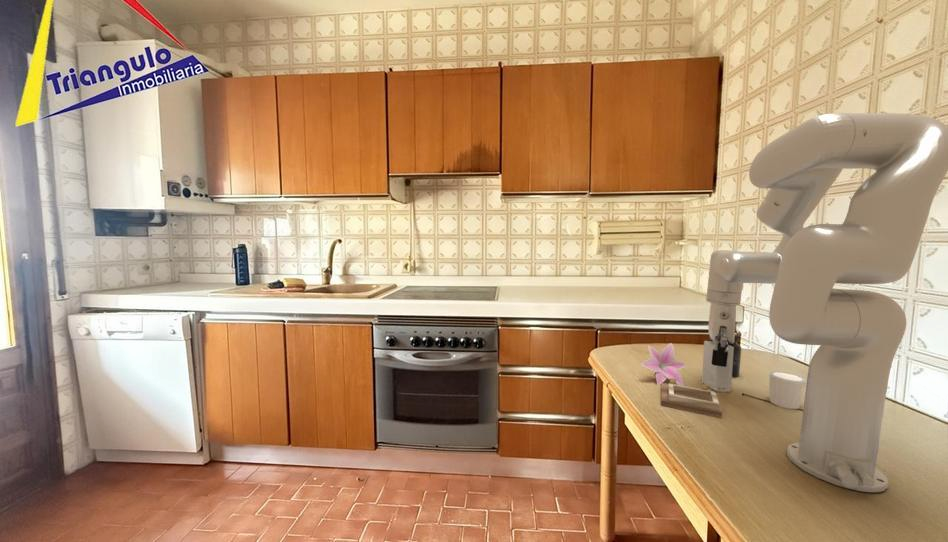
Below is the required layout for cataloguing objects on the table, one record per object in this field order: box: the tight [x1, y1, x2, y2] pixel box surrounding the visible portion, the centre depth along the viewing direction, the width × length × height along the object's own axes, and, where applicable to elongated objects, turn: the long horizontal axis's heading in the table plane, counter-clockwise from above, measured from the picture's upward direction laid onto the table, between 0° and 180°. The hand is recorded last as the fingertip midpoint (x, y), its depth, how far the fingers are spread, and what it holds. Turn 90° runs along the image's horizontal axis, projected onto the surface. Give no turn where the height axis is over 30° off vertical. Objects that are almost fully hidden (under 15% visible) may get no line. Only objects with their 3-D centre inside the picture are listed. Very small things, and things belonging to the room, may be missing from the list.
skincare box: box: [701, 340, 734, 393], centre depth 99 cm, size 6×4×12 cm
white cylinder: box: [769, 371, 807, 410], centre depth 90 cm, size 7×7×7 cm
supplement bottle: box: [728, 334, 742, 378], centre depth 109 cm, size 7×7×12 cm
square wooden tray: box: [660, 378, 723, 419], centre depth 90 cm, size 12×12×3 cm
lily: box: [640, 342, 687, 386], centre depth 103 cm, size 12×12×10 cm
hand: (716, 359), depth 99 cm, fingers open, 9 cm apart
